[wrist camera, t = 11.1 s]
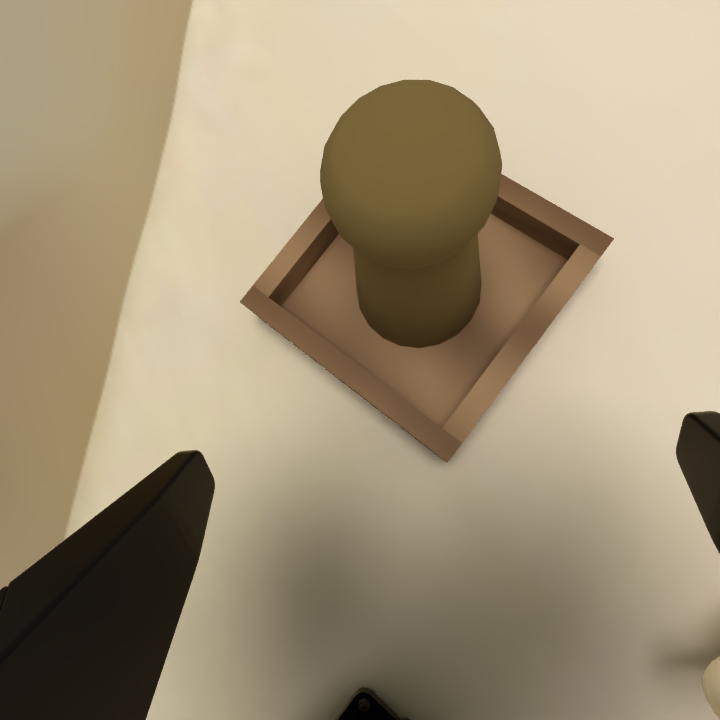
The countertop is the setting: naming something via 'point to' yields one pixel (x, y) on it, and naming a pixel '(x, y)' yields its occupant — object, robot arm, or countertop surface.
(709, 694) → the ring around a ball
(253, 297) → the walnut tray
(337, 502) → the countertop surface
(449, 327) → the cork
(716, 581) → the countertop surface
